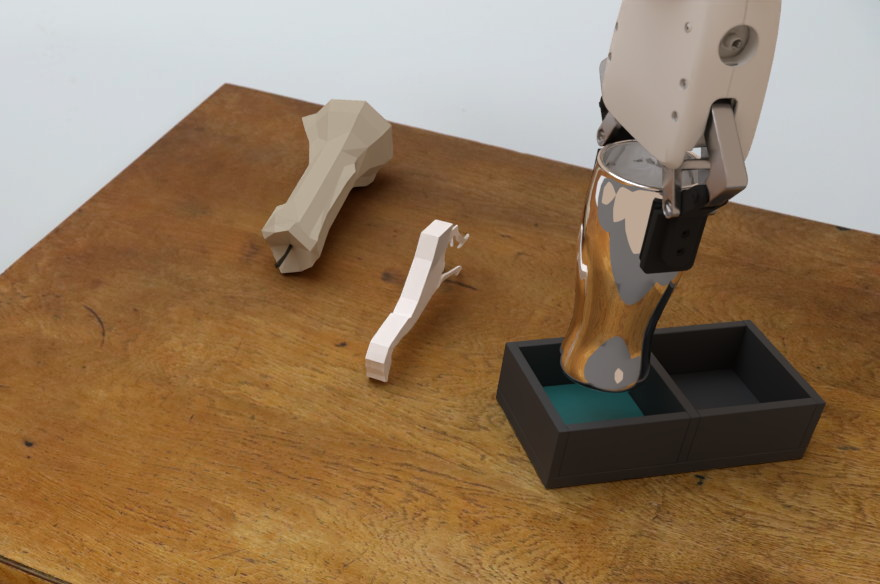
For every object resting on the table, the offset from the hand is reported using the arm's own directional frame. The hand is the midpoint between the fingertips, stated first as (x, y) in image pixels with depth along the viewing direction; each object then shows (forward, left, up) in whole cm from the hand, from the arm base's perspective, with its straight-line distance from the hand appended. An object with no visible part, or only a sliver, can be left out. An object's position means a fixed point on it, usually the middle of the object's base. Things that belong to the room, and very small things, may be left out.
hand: (636, 234), depth 68 cm
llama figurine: (+8, -15, -16) cm, 24 cm away
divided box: (-5, 0, -16) cm, 17 cm away
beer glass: (0, 0, -10) cm, 10 cm away
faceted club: (+12, -32, -16) cm, 38 cm away
